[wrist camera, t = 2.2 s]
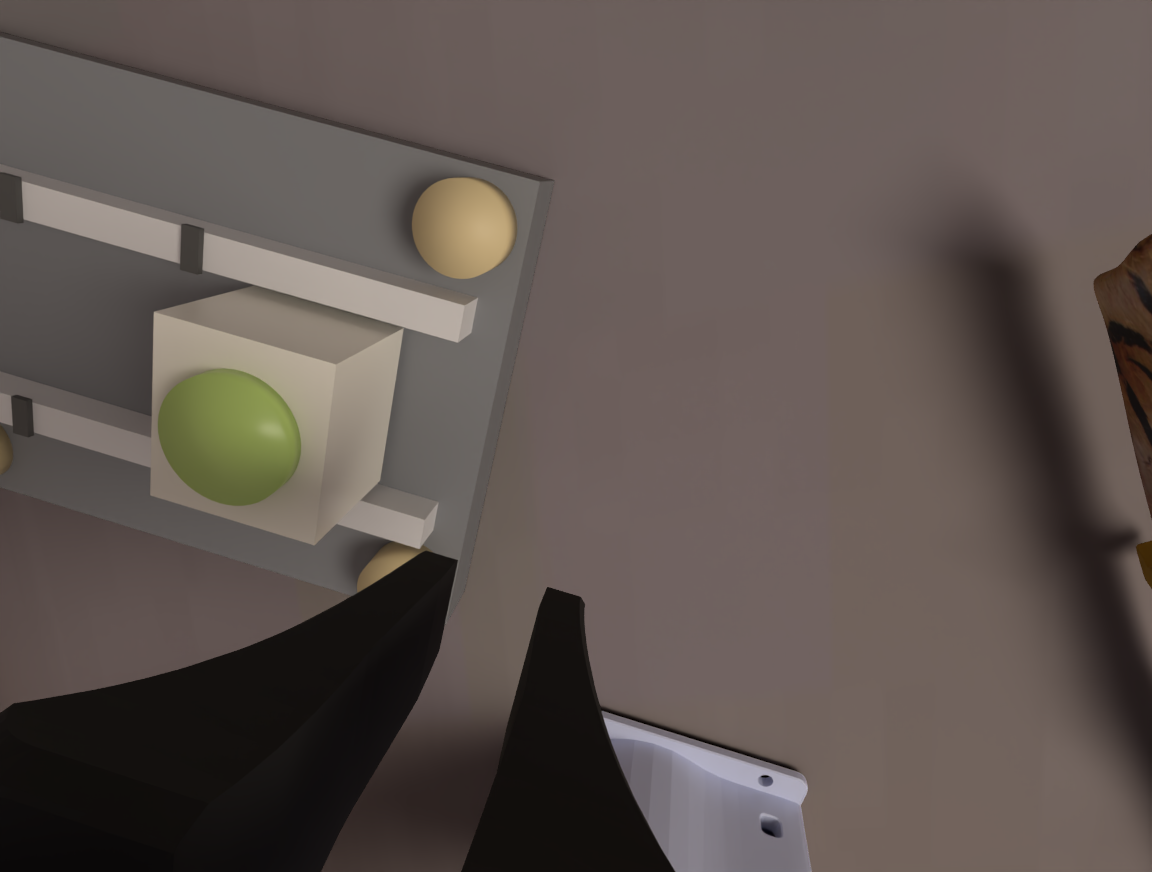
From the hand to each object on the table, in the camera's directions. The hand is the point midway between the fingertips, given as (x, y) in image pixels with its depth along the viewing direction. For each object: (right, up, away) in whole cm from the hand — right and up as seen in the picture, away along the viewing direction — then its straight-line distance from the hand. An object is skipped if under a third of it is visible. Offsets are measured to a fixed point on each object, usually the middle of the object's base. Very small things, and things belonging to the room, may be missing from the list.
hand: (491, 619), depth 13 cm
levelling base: (-9, +7, +10) cm, 15 cm away
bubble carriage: (-6, +5, +8) cm, 11 cm away
